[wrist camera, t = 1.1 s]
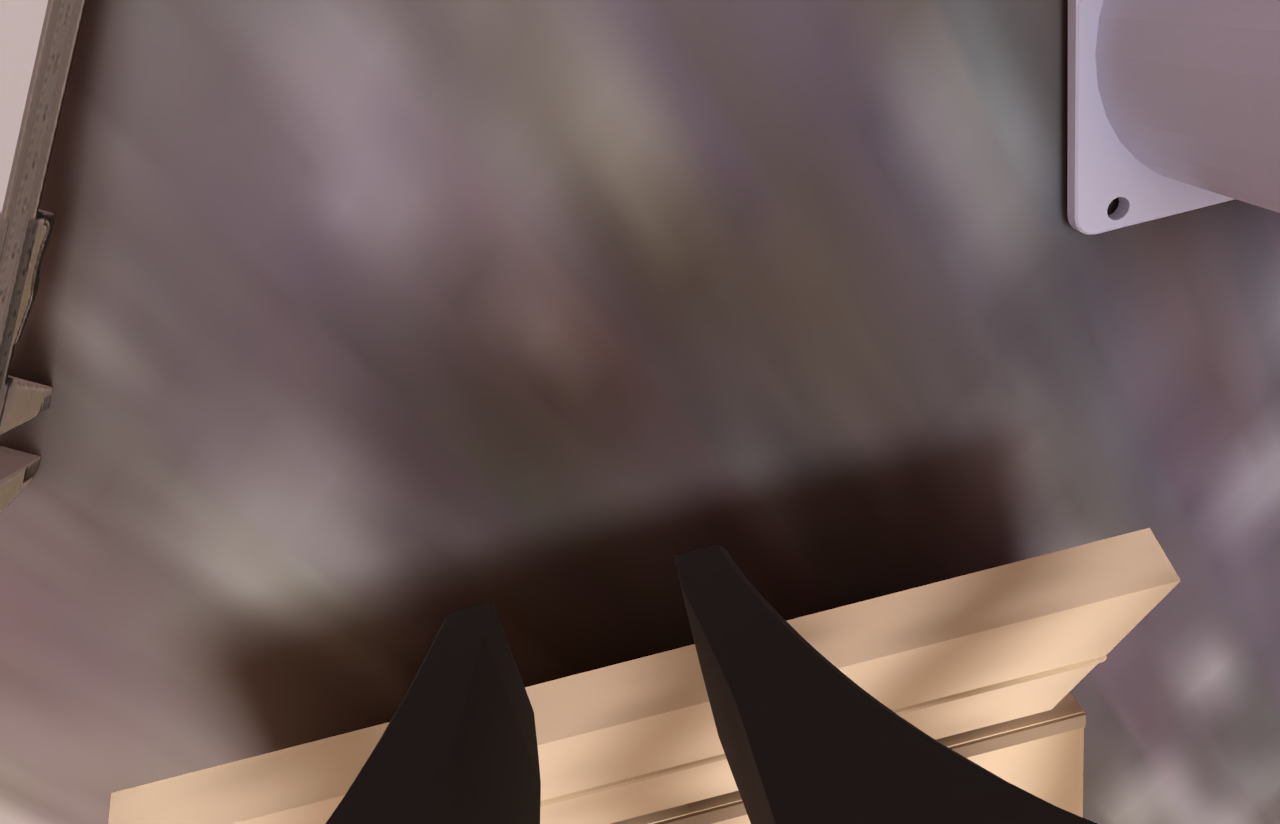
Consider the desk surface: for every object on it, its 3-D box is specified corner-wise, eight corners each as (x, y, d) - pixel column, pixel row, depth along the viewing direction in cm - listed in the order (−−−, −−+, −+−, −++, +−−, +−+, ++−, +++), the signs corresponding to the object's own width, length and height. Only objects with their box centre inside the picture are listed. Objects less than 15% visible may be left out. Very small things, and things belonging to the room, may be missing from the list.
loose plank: (1149, 527, 19) (1182, 583, 18) (1032, 670, 27) (1052, 712, 26) (111, 792, 18) (104, 860, 18) (317, 854, 27) (318, 901, 26)
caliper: (47, 469, 21) (-122, 649, 15) (-5, 456, 21) (-197, 634, 15) (230, -658, 14) (32, -1099, 8) (153, -703, 13) (-110, -1193, 8)
